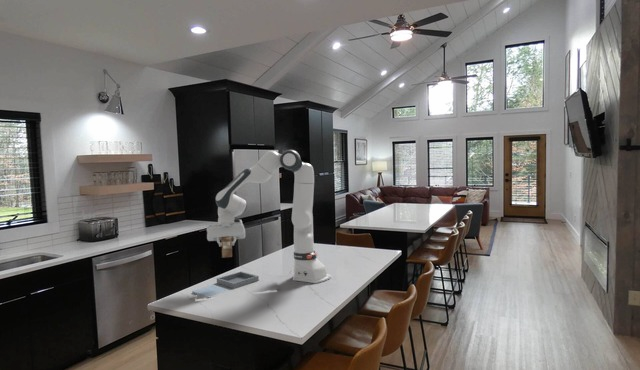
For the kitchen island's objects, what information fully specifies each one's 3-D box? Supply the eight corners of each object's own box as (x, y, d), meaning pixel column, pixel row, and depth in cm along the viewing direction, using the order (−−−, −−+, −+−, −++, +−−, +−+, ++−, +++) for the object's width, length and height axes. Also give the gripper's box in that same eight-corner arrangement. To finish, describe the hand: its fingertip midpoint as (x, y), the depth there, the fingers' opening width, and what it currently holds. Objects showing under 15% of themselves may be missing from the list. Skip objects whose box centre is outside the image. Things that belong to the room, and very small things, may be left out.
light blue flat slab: (228, 291, 196) (227, 289, 196) (206, 298, 188) (206, 296, 187) (213, 286, 206) (212, 284, 206) (192, 292, 197) (192, 291, 197)
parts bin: (258, 282, 209) (258, 276, 209) (234, 290, 198) (233, 283, 198) (241, 277, 220) (241, 271, 220) (216, 284, 209) (216, 278, 208)
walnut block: (232, 254, 208) (231, 236, 207) (232, 256, 203) (231, 238, 202) (222, 255, 207) (221, 237, 206) (222, 257, 202) (221, 238, 201)
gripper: (206, 222, 208) (205, 243, 199) (244, 219, 213) (245, 240, 204) (207, 229, 213) (206, 250, 204) (244, 226, 217) (246, 247, 208)
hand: (226, 245), depth 204 cm, fingers closed on walnut block, 5 cm apart
